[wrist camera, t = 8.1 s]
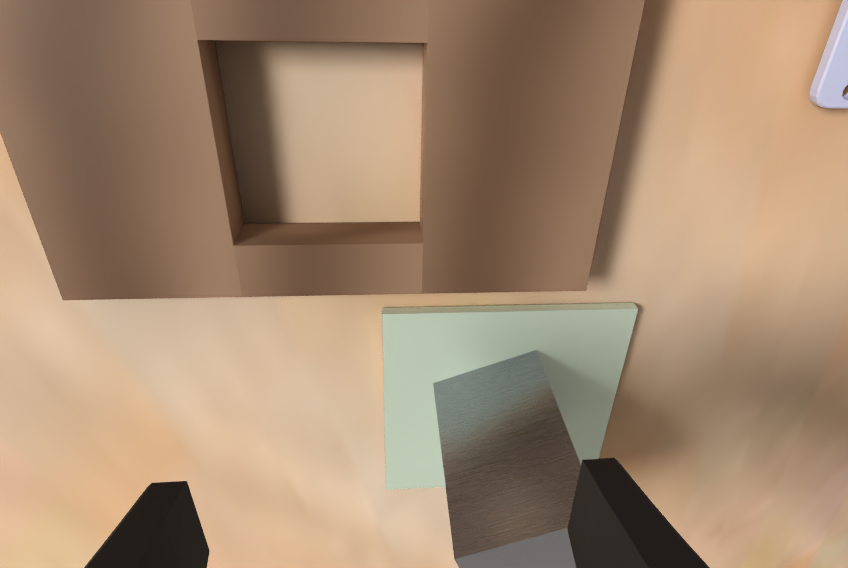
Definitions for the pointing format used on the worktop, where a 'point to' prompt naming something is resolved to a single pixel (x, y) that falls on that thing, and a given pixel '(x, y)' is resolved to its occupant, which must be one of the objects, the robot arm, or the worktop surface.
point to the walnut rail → (312, 242)
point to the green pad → (487, 344)
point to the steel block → (507, 466)
